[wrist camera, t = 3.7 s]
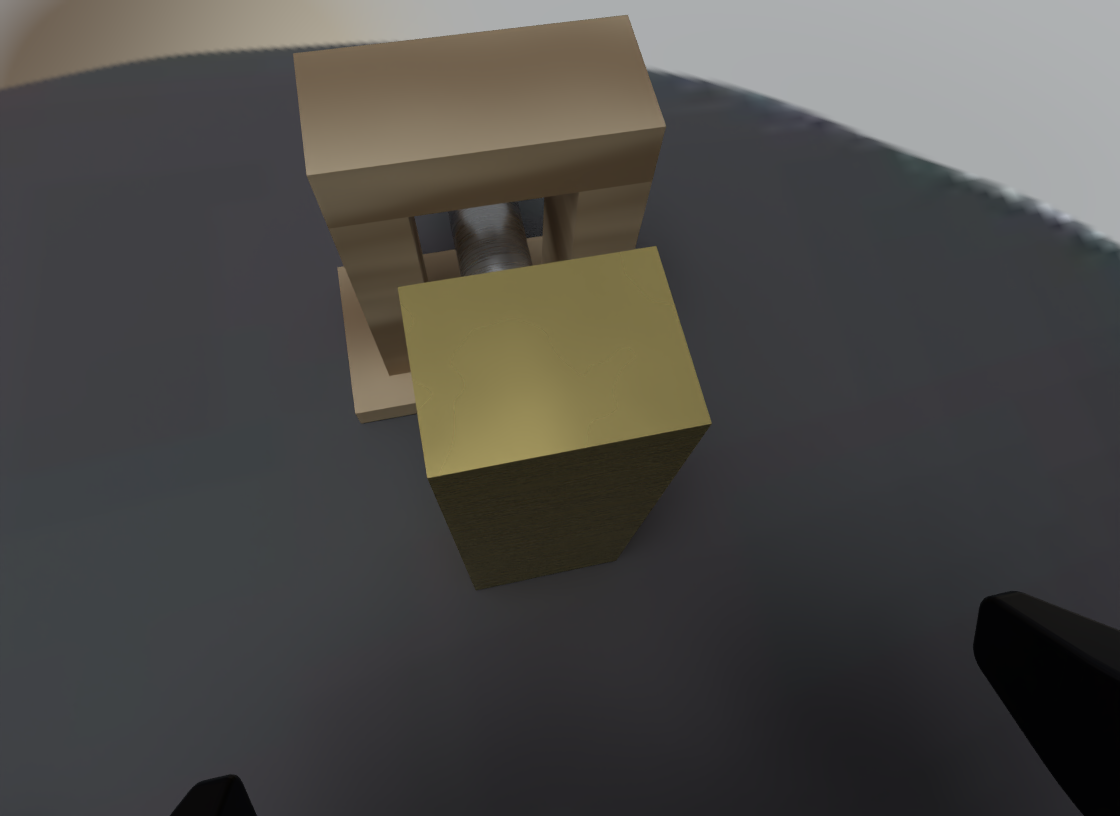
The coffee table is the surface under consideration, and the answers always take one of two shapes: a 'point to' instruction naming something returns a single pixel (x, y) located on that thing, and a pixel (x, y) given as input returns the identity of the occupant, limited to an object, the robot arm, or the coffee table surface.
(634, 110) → the eye post
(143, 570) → the coffee table surface
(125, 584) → the coffee table surface
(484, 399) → the olive block with rod
